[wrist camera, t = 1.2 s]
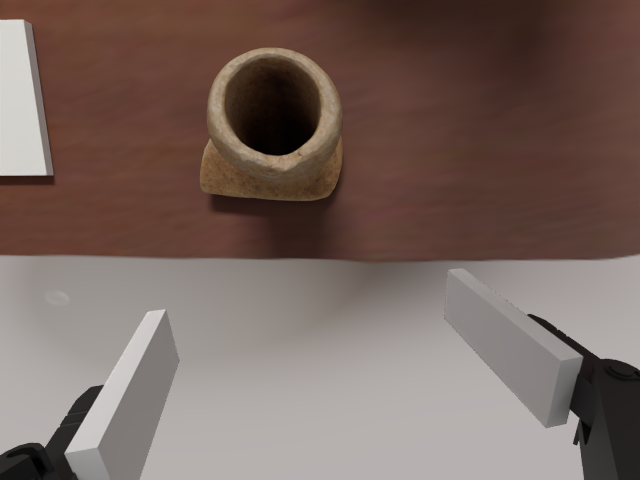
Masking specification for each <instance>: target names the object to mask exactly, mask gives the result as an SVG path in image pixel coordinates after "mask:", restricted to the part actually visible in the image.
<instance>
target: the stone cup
mask: <svg viewBox="0 0 640 480" xmlns="http://www.w3.org/2000/svg"><path fill="white" fill-rule="evenodd" d="M342 124H343V111H342V104H341V100H340V96H339V94H338V92H337V89H336V87H335V86H334V84H333V82H332V81H331V79H330V78H329V76H328V75H327V74H326V73H325V72H324V71H323V70H322V69H321V68H320V67H319V66H318V65H317V64H316V63H315V62H313V61H312V60H311V59H309V58H308V57H306V56H304V55H302V54H300V53H297V52H294V51H292V50H287V49H282V48H260V49H256V50H252V51H249V52H247V53H245V54H242V55H240V56H238V57H236V58H235V59H233V60H231V61H230V62H229V63H228V64H227V65H226V66H225V67H224V68H223V69H222V70H221V71H220V73H219V74H218V75H217V77H216V79H215V80H214V82H213V85H212V88H211V90H210V93H209V99H208V106H207V127H208V131H209V135H210V139H209V142H208V145H207V146H206V147H205V150H204V155H203V158H202V164H201V170H200V186H201V188H202V190H203V191H204V192H205V193H209V194H218V195H224V196H232V197H244V198H259V199H269V200H288V201H312V200H317V199H321V198H325V197H327V196H329V195H330V194H331V192H332V190H333V189H334V188H335V186H336V183H337V181H338V178H339V174H340V170H341V166H342V155H343V152H342V139H341V136H340V135H341V131H342Z"/></svg>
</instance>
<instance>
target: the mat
mask: <svg viewBox="0 0 640 480" xmlns="http://www.w3.org/2000/svg"><path fill="white" fill-rule="evenodd" d="M20 175H54V174H53V167H52V160H51V153H50V146H49V140H48V133H47V126H46V119H45V112H44V106H43V99H42V92H41V85H40V78H39V72H38V65H37V58H36V51H35V44H34V37H33V31H32V24H30V23H29V22H27V21H25V20H0V176H20Z"/></svg>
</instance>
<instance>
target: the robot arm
mask: <svg viewBox="0 0 640 480" xmlns="http://www.w3.org/2000/svg"><path fill="white" fill-rule="evenodd" d="M444 318H445V319H446V321H447V322H448V323H449V324H450V325H451V326H452V327H453V328H454V329H455V330H456V332H457V333H458V334H459V335H460V336H461V337H462V338H463V339H464V340H465V341H466V342H467V343H468V344H469V346H470V347H471V348H472V349H473V350H474V351H475V352H476V353H477V354H478V355H479V356H480V358H481V359H482V360H483V361H484V362H485V363H486V364H487V365H488V366H489V367H490V368H491V369H492V370H493V372H495V374H496V375H497V376H498V377H499V378H500V379H501V380H502V381H503V382H504V383H505V385H506V386H508V388H509V389H510V390H511V391H512V392H513V393H514V394H515V395H516V396H517V397H518V399H519V400H520V401H521V402H522V403H523V404H524V405H525V406H526V407H527V408H528V409H529V410H530V412H532V414H533V415H534V416H535V417H536V418H537V419H538V420H539V421H540V422H541V423H542V425H544V427H545V428H549V427H553V426H558V425H563V424H566V423H567V419H568V415H569V411H570V410H571V411H573V413H575V414H576V415H577V416H578V417H579V418H580V419H579V423H578V427H577V430H576V434H575V437H574V442H573V444H574V445H577V444H578V441H579V442H580V449H581V458H582V466H583V473H584V480H640V370H638V369H637V368H635V367H633V366H631V365H629V364H627V363H624V362H621V361H618V360H613V359H600V358H598V357H597V356H596V355H594V354H593V353H591V352H590V351H588V350H587V349H586V348H584V347H583V346H581V345H580V344H579V343H577V342H576V341H574V340H573V339H571V338H570V337H567V336H566V334H564V333H563V332H561V331H560V330H557V328H556V327H554V326H553V325H552V324H550V323H549V322H547V321H546V320H544V319H541V318H539V317H537V316H535V315H532V314H528V315H526V314H525V313H523V312H522V311H520V310H519V309H518V308H516V307H515V306H514V305H512V304H511V303H509V302H508V301H507V300H505V299H504V298H503V297H501V296H500V295H499V294H497V293H496V292H495V291H493V290H492V289H490V288H489V287H488V286H486V285H485V284H484V283H482V282H481V281H480V280H478V279H477V278H476V277H474V276H473V275H471V274H470V273H469V272H467V271H466V270H465V269H463V268H458V269H450V270H448V274H447V287H446V300H445V314H444ZM178 363H179V357H178V353H177V350H176V346H175V342H174V338H173V334H172V330H171V326H170V323H169V319H168V315H167V311H166V309H164V310H157V311H149V312H147V314H146V315H145V317H144V319H143V320H142V322H141V324H140V325H139V327H138V329H137V330H136V332H135V334H134V336H133V337H132V339H131V341H130V342H129V344H128V346H127V347H126V349H125V351H124V353H123V354H122V356H121V358H120V359H119V361H118V363H117V365H116V366H115V368H114V370H113V371H112V373H111V375H110V376H109V378H108V380H107V381H106V383H105V385H101V386H94V387H90V388H89V389H88V390H87V391H86V392H85V393H83V394H82V395H81V396H80V397H79V398H78V399H77V400H76V401H75V403H74V404H73V406H72V407H71V409H70V410H69V412H68V415H67V416H65V418H64V420H63V421H62V423H61V424H60V427H59V428H58V429H57V430H56V432H55V433H54V435H53V436H52V438H51V439H50V441H49V442H48V444H47V446H46V447H45V448H44V447H43V446H42V445H41V444H40V443H27V444H24V445H20V446H17V447H15V448H13V449H11V450H8V451H6V452H5V453H3V454H2V455H0V480H139V479H140V476H141V473H142V470H143V467H144V464H145V461H146V458H147V455H148V452H149V449H150V447H151V444H152V440H153V437H154V435H155V431H156V429H157V425H158V423H159V420H160V417H161V414H162V411H163V408H164V405H165V402H166V399H167V396H168V393H169V390H170V387H171V384H172V381H173V378H174V375H175V372H176V369H177V366H178Z"/></svg>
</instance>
